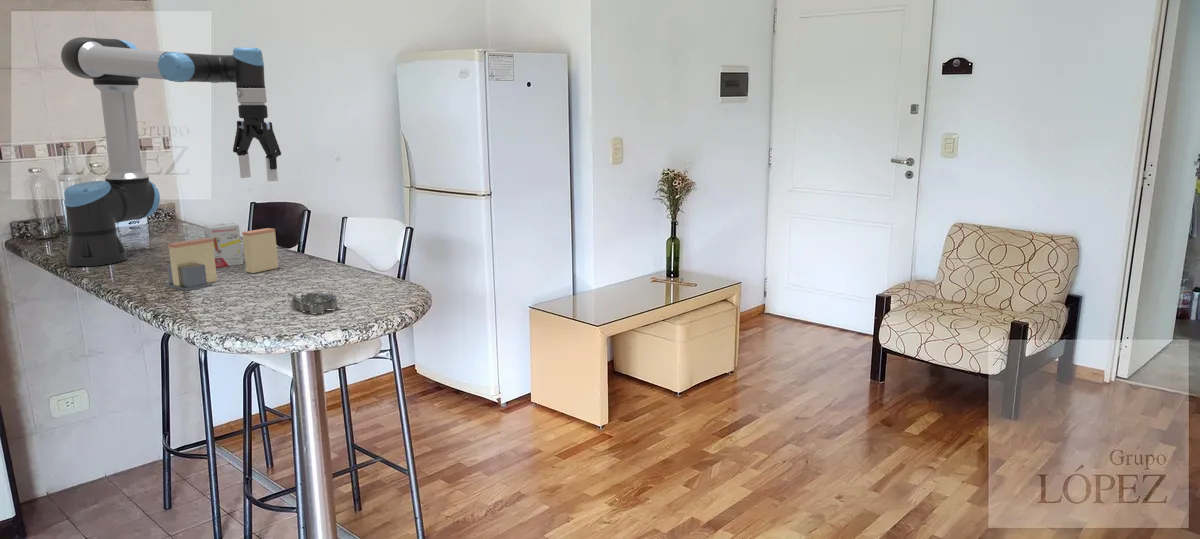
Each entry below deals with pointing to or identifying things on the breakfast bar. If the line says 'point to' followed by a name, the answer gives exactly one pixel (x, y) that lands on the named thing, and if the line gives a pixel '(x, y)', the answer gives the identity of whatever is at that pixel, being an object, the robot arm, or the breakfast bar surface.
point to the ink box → (225, 243)
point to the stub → (260, 250)
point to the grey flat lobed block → (314, 302)
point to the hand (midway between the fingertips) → (258, 179)
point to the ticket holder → (191, 264)
